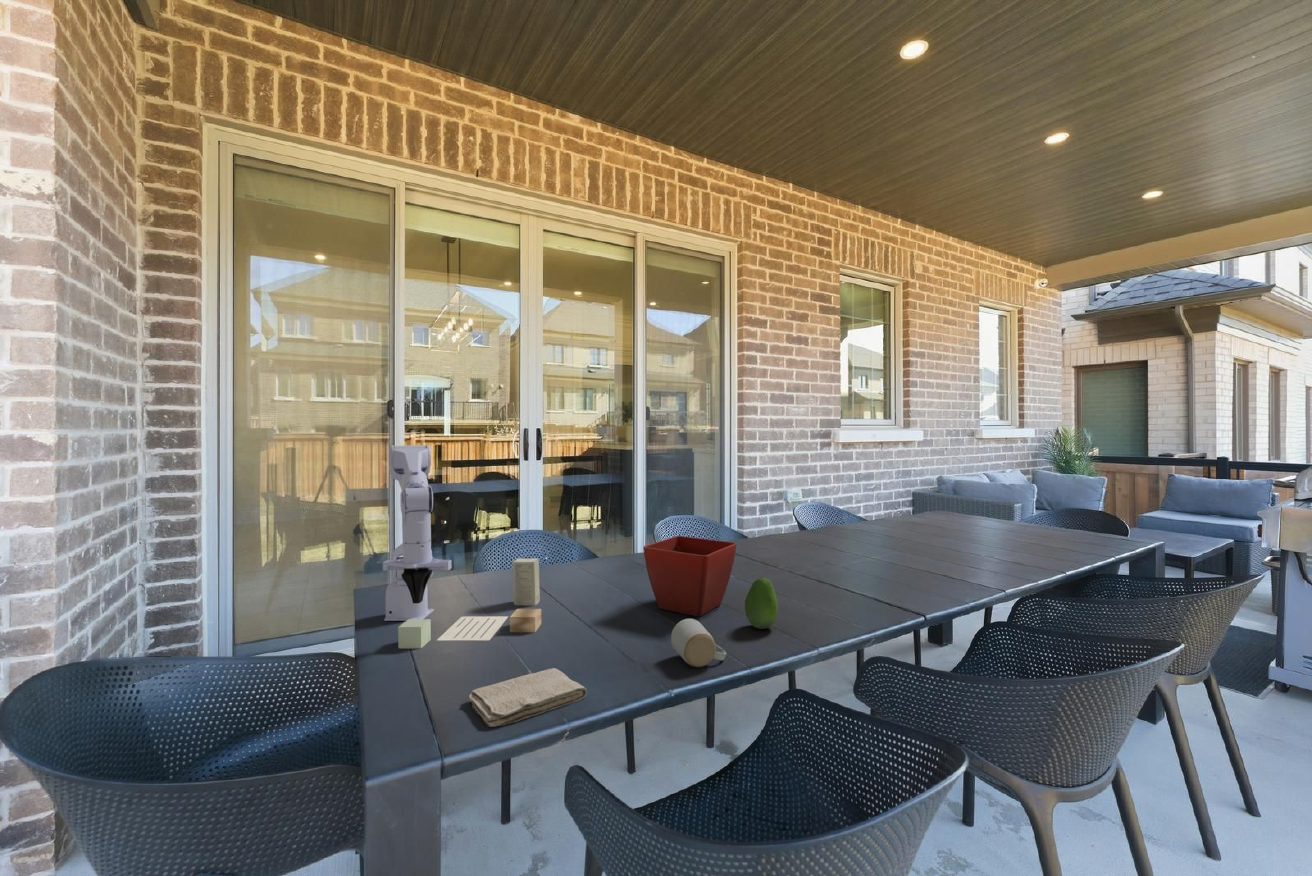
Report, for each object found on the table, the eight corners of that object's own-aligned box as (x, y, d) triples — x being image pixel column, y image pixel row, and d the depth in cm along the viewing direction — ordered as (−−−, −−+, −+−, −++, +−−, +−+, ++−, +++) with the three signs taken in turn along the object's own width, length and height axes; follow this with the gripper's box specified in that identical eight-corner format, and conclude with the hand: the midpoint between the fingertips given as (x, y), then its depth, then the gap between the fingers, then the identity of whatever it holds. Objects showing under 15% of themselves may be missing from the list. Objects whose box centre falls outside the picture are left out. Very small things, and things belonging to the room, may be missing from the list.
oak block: (509, 633, 130) (509, 617, 130) (517, 625, 136) (517, 608, 136) (535, 634, 130) (535, 617, 130) (541, 625, 136) (541, 608, 136)
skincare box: (540, 601, 154) (539, 558, 154) (535, 606, 150) (534, 561, 149) (518, 601, 155) (518, 557, 155) (512, 606, 150) (512, 561, 150)
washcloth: (465, 705, 97) (464, 687, 97) (557, 677, 108) (556, 661, 108) (490, 734, 88) (490, 715, 88) (588, 700, 99) (588, 682, 99)
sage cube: (398, 649, 121) (398, 627, 121) (408, 641, 126) (408, 619, 126) (421, 649, 121) (420, 627, 121) (430, 641, 126) (430, 619, 126)
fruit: (784, 627, 133) (784, 577, 133) (766, 636, 127) (766, 584, 127) (756, 619, 138) (756, 572, 138) (738, 628, 133) (738, 578, 132)
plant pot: (738, 603, 152) (738, 542, 152) (706, 624, 136) (706, 555, 136) (678, 592, 162) (677, 535, 162) (641, 610, 146) (641, 547, 146)
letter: (436, 641, 125) (436, 640, 125) (461, 617, 141) (461, 616, 141) (489, 641, 125) (489, 640, 125) (508, 617, 141) (508, 616, 141)
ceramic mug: (684, 672, 109) (685, 633, 109) (670, 655, 117) (670, 619, 117) (733, 665, 112) (733, 627, 112) (716, 650, 120) (716, 614, 120)
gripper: (375, 545, 119) (376, 608, 119) (442, 544, 119) (443, 607, 120) (391, 538, 126) (391, 598, 127) (454, 538, 126) (455, 597, 127)
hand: (417, 602), depth 123 cm, fingers closed
